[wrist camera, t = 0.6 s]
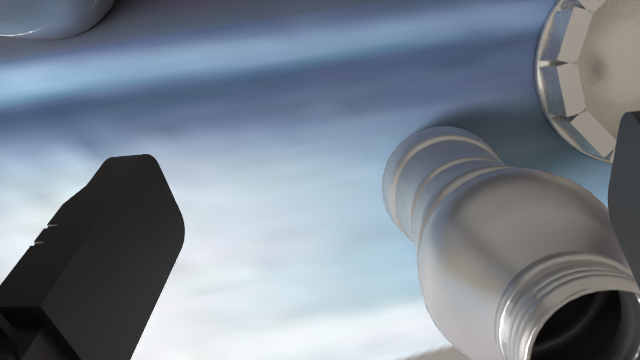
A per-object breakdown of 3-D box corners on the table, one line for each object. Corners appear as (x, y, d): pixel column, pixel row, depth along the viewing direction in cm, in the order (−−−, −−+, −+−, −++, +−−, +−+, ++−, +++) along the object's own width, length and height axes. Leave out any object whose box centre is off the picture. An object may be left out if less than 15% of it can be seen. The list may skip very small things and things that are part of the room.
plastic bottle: (452, 98, 30) (673, 147, 10) (513, 196, 31) (819, 409, 11) (355, 161, 31) (392, 316, 11) (418, 255, 32) (551, 546, 12)
